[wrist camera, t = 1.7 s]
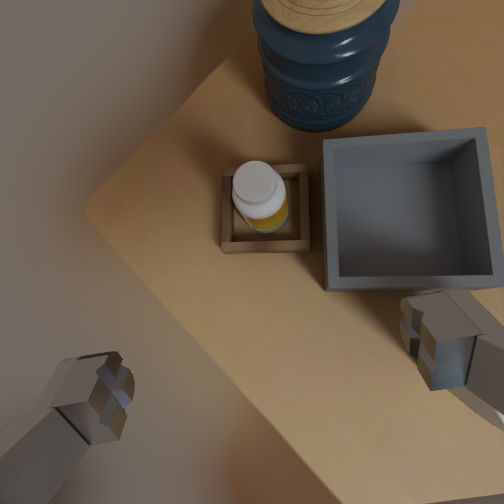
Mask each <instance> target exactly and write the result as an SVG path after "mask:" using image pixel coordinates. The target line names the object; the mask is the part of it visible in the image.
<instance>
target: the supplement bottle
mask: <svg viewBox="0 0 504 504" xmlns="http://www.w3.org/2000/svg"><path fill="white" fill-rule="evenodd" d="M232 197H233V201H234V204H235V206H236V208H237V209H238V211H239V212H240V214H241V215H242V217H243V218H244V220H245V221H246V223H247V224H248V225H249V226H250V227H251V228H252V229H253V230H255V231H258V232H261V233H270V232H274V231H276V230H278V229H279V228H280V227H282V226H283V224H284V223H285V222H286V220H287V217H288V212H289V208H288V202H287V196H286V189H285V185H284V182H283V179H282V178H281V176H280V175H279V174H278V173H277V172H276V171H275V170H273V169H272V168H271V167H270V166H269V165H268V164H266V163H265V162H262V161H249V162H247V163H245V164H243V165H242V166H240V167H239V168H238V170H237V171H236V173H235V175H234V178H233V190H232Z"/></svg>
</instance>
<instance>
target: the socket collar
mask: <svg viewBox="0 0 504 504" xmlns="http://www.w3.org/2000/svg"><path fill="white" fill-rule="evenodd" d="M269 166H270V167H271V168H272V169H273V170H275V171H276V172H277V173H278V174H279V175H280V176H281V178H282V179H283V180H284V179H299V191H300V232H301V240H285V241H252V242H234V201H233V197H232V190H233V178H234V175H235V173H236V171H237V170H238V168H224V169H223V178H222V226H221V251H222V252H223V253H225V254H244V253H285V252H310V225H309V191H308V163H298V164H283V165H269Z"/></svg>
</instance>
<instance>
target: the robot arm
mask: <svg viewBox="0 0 504 504" xmlns="http://www.w3.org/2000/svg"><path fill="white" fill-rule="evenodd" d="M400 309H401V311H402V312H403V314H404V316H403V318H402V319H401V320H400V333H401V337H402V341H403V343H404V346H405V348H406V350H407V351H408V353H409V355H411V356H412V357H414V358H416V359H417V360H418V367H417V369H418V371H419V372H420V374H421V376H422V378H423V379H424V381H425V383H426V384H427V386H428V388H429V390H430V391H435V390H442V389H450V388H458V387H465V386H466V389H467V390H469V391H470V392H472V393H473V394H475V395H476V396H477V397H479V398H480V399H482V400H483V401H484V402H486V403H487V404H489V405H490V406H491V407H493V408H494V409H496V410H497V411H499V412H500V413H501V414H503V415H504V326H503V325H502V324H501V323H500V322H499V321H498V320H497V319H496V318H495V317H494V316H493V315H492V314H491V313H490V312H489V311H488V310H487V309H486V308H485V307H484V306H483V305H482V304H481V303H480V302H479V301H478V300H477V299H476V298H475V297H474V296H473V295H472V294H471V293H470V292H469V291H468V290H467V289H466V288H463V287H455V288H450V289H445V290H441V291H435V292H430V293H425V294H420V295H415V296H409V297H404V298H402V300H401V305H400ZM122 360H123V359H122V357H121V356H120V354H119V353H118V352H116V351H115V352H114V351H112V352H105V353H98V354H92V355H85V356H81V357H75V358H69V359H65V360H63V361H62V362H60V364H59V365H58V367H57V368H56V370H55V372H54V374H53V375H52V377H51V379H50V380H49V382H48V384H47V385H46V387H45V389H44V390H43V392H42V394H41V395H40V397H39V399H38V400H37V402H36V404H35V405H34V407H33V409H32V411H31V412H28V413H25V414H24V415H22V416H21V417H20V418H19V419H18V420H17V421H15V422H14V423H13V424H12V425H11V426H10V427H8V428H7V429H6V430H5V431H4V432H3V433H2V434H0V504H47V503H48V502H49V501H50V500H51V498H52V497H53V496H54V495H55V493H56V492H57V491H58V489H59V488H60V487H61V485H62V484H63V483H64V481H65V480H66V479H67V478H68V476H69V475H70V474H71V472H72V471H73V470H74V469H75V467H76V466H77V465H78V463H79V462H80V461H81V459H82V458H83V457H84V456H85V454H86V453H87V452H88V450H89V449H90V448H91V447H90V446H91V445H97V444H101V443H107V442H112V441H118V440H120V437H121V434H122V431H123V427H124V425H125V421H126V418H127V415H126V413H125V408H126V407H127V406H128V405H129V404H130V403H131V402H132V399H133V395H134V391H135V381H134V378H133V374H132V373H131V371H130V369H128V368H126V367H124V366H122V365H121V363H122ZM427 504H504V494H497V495H489V496H482V497H474V498H466V499H458V500H451V501H443V502H435V503H427Z"/></svg>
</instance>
